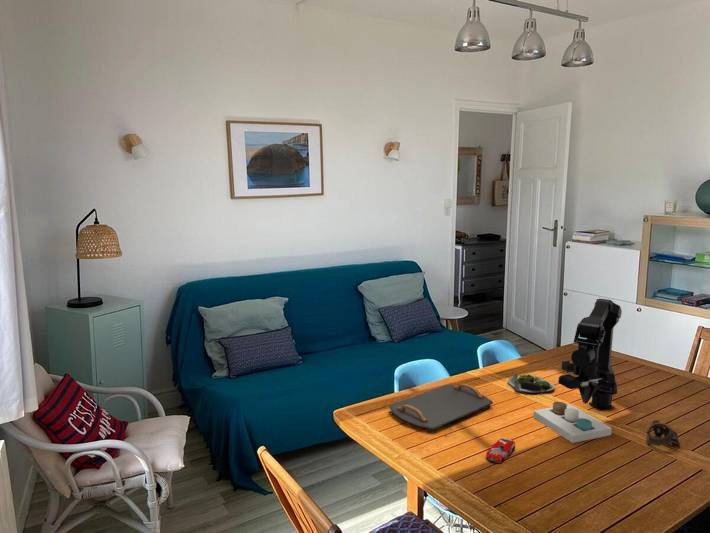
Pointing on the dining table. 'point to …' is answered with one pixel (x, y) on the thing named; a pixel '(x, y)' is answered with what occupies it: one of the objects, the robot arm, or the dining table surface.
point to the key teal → (584, 424)
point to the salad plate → (531, 384)
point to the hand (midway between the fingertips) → (585, 403)
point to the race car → (500, 450)
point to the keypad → (572, 425)
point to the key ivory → (571, 415)
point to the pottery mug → (659, 431)
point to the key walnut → (559, 408)
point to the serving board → (440, 406)
